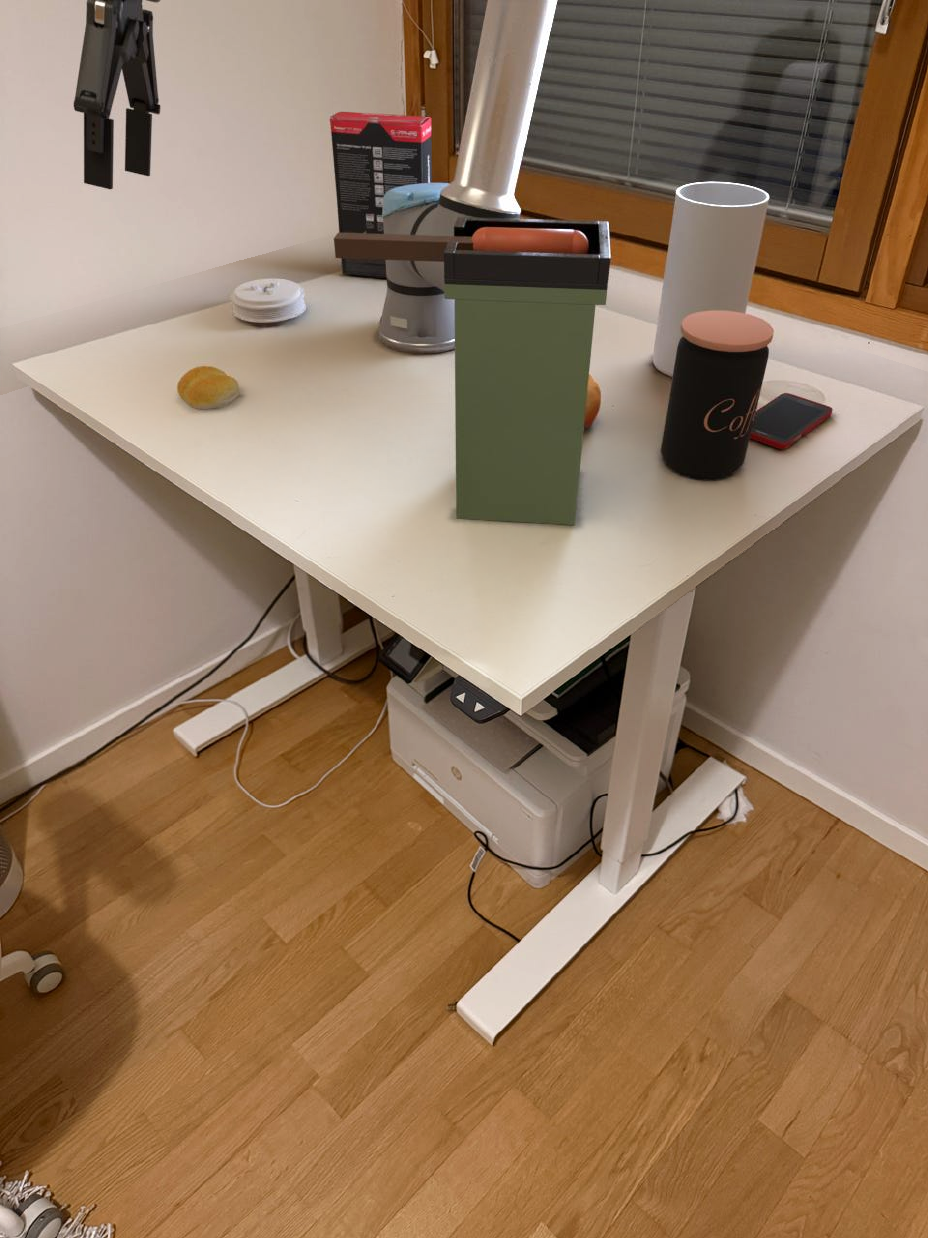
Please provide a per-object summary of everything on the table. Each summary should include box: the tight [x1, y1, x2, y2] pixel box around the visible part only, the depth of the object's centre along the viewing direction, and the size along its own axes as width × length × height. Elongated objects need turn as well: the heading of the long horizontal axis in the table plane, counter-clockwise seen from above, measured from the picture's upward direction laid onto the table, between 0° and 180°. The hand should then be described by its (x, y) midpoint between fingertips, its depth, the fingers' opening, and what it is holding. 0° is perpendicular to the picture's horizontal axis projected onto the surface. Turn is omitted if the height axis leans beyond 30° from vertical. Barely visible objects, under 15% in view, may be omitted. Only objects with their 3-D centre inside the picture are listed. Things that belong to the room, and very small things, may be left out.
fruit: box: [584, 373, 602, 429], centre depth 121 cm, size 8×8×8 cm
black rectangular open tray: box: [444, 217, 612, 291], centre depth 90 cm, size 16×12×3 cm
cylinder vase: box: [652, 181, 770, 378], centre depth 129 cm, size 12×12×25 cm
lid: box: [229, 278, 307, 324], centre depth 152 cm, size 13×13×5 cm
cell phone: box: [750, 392, 833, 450], centre depth 122 cm, size 8×15×1 cm, turn 137°
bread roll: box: [176, 365, 240, 410], centre depth 128 cm, size 8×9×4 cm
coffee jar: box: [660, 310, 775, 481], centre depth 109 cm, size 11×11×18 cm
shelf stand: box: [444, 284, 608, 526], centre depth 99 cm, size 16×12×28 cm
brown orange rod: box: [333, 227, 589, 262], centre depth 90 cm, size 26×3×3 cm, turn 84°
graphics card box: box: [329, 111, 433, 279], centre depth 161 cm, size 17×7×27 cm, turn 77°
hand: (119, 179), depth 98 cm, fingers open, 13 cm apart
